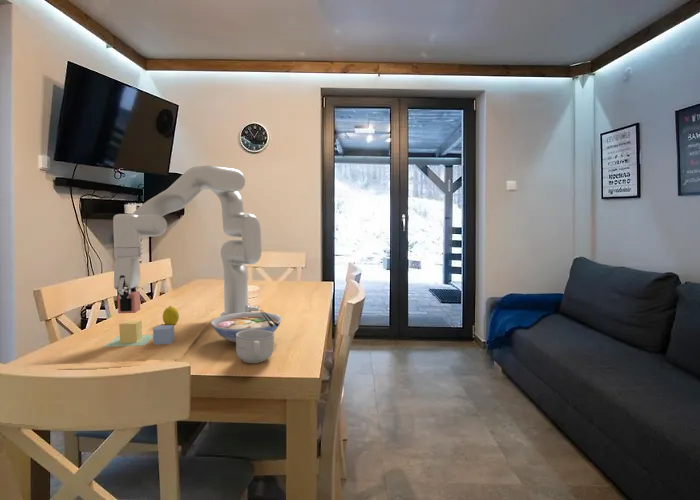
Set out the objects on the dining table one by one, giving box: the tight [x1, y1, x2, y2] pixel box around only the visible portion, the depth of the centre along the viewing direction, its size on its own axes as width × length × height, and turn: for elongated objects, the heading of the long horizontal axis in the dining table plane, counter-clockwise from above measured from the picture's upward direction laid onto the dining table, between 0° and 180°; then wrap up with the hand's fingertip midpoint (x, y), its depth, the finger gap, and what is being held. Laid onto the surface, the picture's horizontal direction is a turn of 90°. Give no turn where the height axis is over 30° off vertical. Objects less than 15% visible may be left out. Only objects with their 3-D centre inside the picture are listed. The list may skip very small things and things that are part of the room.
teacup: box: [235, 330, 275, 364], centre depth 119 cm, size 14×11×8 cm
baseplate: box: [103, 334, 153, 348], centre depth 136 cm, size 12×12×1 cm
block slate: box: [152, 324, 175, 345], centre depth 134 cm, size 5×5×6 cm
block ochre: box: [118, 319, 143, 343], centre depth 136 cm, size 5×5×6 cm
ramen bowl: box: [210, 308, 282, 343], centre depth 139 cm, size 25×23×8 cm
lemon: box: [162, 305, 180, 326], centre depth 156 cm, size 6×6×8 cm
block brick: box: [116, 291, 141, 314], centre depth 135 cm, size 5×5×6 cm
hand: (129, 308), depth 135 cm, fingers closed on block brick, 4 cm apart
